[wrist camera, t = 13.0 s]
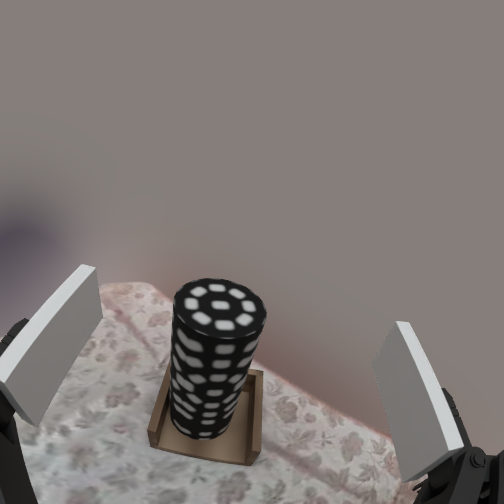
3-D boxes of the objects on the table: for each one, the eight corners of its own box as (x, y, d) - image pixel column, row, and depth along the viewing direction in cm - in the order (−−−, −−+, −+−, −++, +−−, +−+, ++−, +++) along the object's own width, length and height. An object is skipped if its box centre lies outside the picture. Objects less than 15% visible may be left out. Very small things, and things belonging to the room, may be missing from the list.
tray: (254, 392, 41) (263, 370, 38) (250, 466, 29) (260, 451, 27) (171, 375, 40) (172, 352, 38) (150, 446, 29) (147, 429, 26)
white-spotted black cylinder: (225, 390, 39) (255, 280, 30) (235, 438, 32) (277, 338, 23) (168, 389, 37) (173, 275, 28) (171, 440, 30) (173, 337, 21)
